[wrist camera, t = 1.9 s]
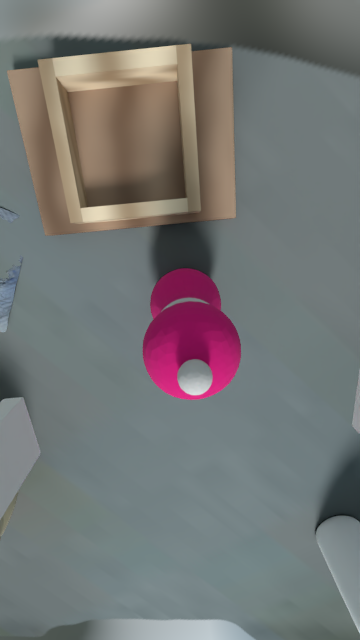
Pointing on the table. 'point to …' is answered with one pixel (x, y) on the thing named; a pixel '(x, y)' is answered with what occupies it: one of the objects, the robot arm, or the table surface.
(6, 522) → the planter bowl
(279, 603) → the table surface
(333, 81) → the table surface
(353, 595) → the milk bottle
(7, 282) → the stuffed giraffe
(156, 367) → the pepper mill
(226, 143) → the holder board
